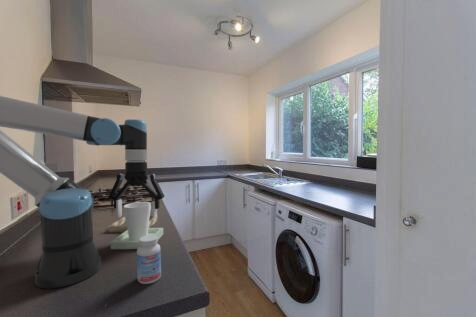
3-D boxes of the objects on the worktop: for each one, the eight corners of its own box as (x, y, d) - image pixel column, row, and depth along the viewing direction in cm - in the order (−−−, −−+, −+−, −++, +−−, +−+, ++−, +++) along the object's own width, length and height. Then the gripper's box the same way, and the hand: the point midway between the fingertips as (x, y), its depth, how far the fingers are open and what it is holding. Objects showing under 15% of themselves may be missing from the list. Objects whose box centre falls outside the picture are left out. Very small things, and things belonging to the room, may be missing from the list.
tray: (150, 248, 80) (149, 241, 80) (110, 249, 80) (110, 242, 80) (163, 233, 94) (163, 227, 94) (129, 234, 94) (129, 228, 94)
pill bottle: (141, 288, 58) (139, 244, 57) (134, 277, 62) (133, 237, 62) (164, 279, 61) (163, 238, 61) (157, 269, 66) (155, 232, 66)
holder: (144, 231, 96) (144, 226, 96) (108, 232, 96) (108, 226, 96) (158, 220, 112) (157, 215, 112) (126, 220, 112) (126, 215, 112)
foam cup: (119, 240, 85) (118, 206, 84) (140, 232, 93) (139, 200, 92) (136, 245, 81) (135, 209, 80) (156, 236, 89) (155, 203, 88)
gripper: (172, 161, 89) (172, 214, 90) (109, 160, 89) (110, 214, 90) (166, 162, 82) (166, 220, 82) (97, 161, 82) (98, 219, 83)
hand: (137, 217), depth 86 cm, fingers open, 13 cm apart
